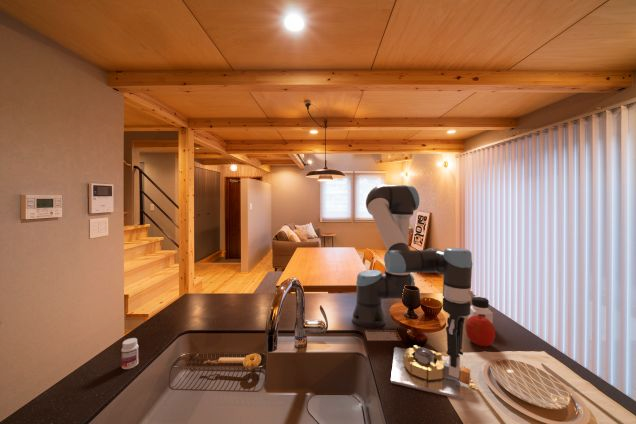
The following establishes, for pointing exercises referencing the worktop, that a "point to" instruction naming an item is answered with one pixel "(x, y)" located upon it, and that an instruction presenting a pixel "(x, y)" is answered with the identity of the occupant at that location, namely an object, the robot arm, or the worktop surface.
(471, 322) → the apple
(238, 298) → the worktop surface
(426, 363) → the flange plate
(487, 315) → the container
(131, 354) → the pill bottle
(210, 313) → the worktop surface
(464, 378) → the yellow piece
